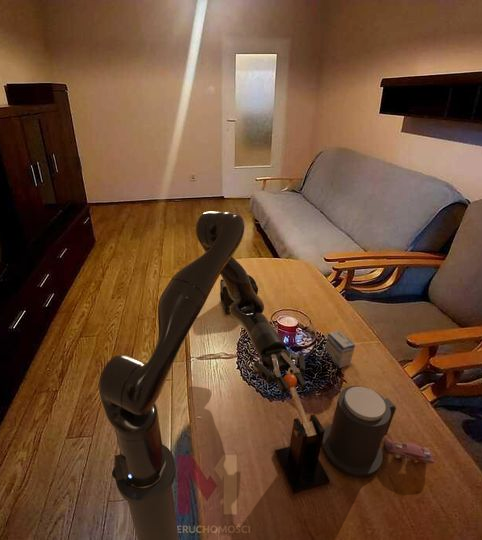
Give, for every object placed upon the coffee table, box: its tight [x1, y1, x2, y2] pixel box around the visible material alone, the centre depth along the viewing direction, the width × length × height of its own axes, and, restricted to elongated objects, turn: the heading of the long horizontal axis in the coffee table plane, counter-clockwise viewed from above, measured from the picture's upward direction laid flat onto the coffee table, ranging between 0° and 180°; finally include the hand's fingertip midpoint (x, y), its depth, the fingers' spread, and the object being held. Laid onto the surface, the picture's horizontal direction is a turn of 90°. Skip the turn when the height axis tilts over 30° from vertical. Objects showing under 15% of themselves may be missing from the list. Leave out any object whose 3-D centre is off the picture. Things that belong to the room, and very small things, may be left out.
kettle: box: [321, 385, 397, 479], centre depth 82 cm, size 15×14×18 cm
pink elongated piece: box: [384, 437, 435, 464], centre depth 83 cm, size 10×5×7 cm, turn 73°
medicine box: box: [324, 329, 356, 369], centre depth 112 cm, size 8×4×9 cm, turn 21°
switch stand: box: [274, 413, 331, 495], centre depth 79 cm, size 10×9×16 cm
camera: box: [219, 274, 259, 315], centre depth 137 cm, size 11×14×15 cm
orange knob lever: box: [282, 373, 317, 438], centre depth 79 cm, size 14×3×3 cm, turn 14°
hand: (295, 390), depth 80 cm, fingers closed on orange knob lever, 3 cm apart
